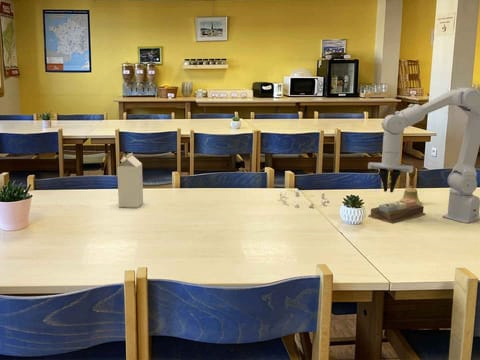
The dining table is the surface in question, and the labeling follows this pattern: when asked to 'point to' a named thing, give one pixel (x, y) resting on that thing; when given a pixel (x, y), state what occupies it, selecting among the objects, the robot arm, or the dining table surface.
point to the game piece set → (309, 196)
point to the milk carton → (130, 182)
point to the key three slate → (387, 208)
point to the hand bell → (411, 187)
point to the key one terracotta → (409, 203)
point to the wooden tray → (397, 214)
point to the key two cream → (399, 205)
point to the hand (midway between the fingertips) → (388, 191)
